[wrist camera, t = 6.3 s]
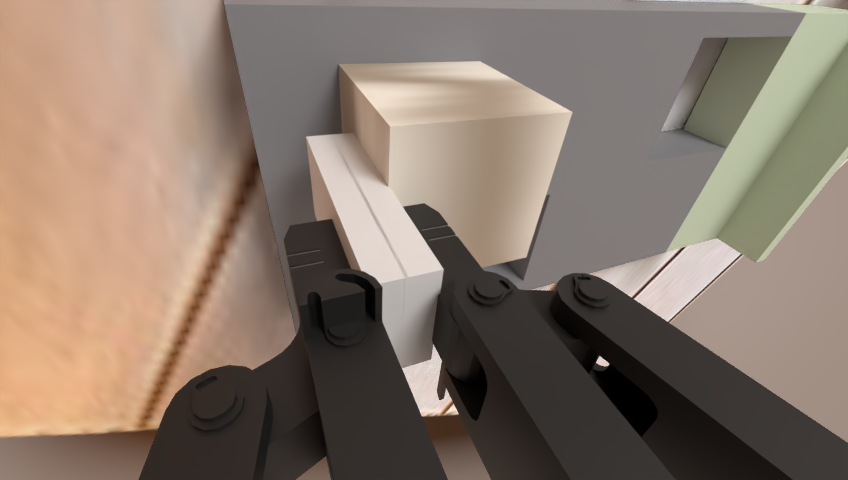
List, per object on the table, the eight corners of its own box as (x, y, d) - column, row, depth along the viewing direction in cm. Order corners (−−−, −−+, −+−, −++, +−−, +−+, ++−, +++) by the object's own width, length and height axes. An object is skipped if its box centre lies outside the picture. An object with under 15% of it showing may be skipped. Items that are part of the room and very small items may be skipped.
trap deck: (292, 310, 21) (310, 408, 17) (222, -12, 12) (225, 27, 8) (691, 214, 32) (764, 259, 28) (816, 5, 23) (953, 25, 19)
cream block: (345, 201, 15) (386, 290, 11) (338, 63, 12) (390, 126, 8) (460, 184, 17) (526, 257, 13) (480, 61, 14) (572, 111, 10)
